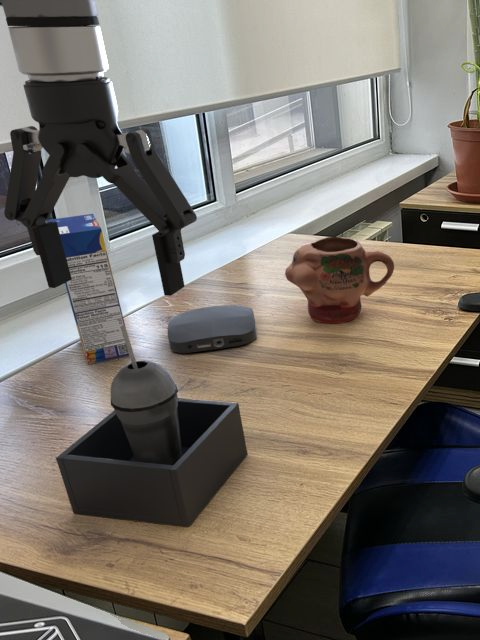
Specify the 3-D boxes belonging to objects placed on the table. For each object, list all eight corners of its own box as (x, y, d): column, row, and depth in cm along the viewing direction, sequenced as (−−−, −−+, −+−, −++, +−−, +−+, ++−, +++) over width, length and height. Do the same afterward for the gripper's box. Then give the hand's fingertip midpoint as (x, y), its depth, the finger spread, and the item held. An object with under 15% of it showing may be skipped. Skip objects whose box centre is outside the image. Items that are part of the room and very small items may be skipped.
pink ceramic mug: (391, 297, 142) (387, 229, 136) (400, 320, 132) (396, 248, 126) (290, 306, 138) (281, 238, 132) (291, 331, 128) (281, 257, 122)
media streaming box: (253, 314, 135) (251, 299, 134) (258, 345, 123) (256, 329, 121) (172, 325, 131) (169, 310, 130) (169, 358, 119) (165, 341, 117)
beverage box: (88, 365, 117) (52, 235, 107) (80, 341, 125) (47, 219, 115) (132, 354, 120) (101, 228, 110) (122, 332, 128) (92, 213, 119)
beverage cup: (153, 503, 82) (113, 348, 73) (120, 481, 86) (79, 331, 77) (207, 473, 87) (176, 325, 79) (174, 453, 91) (141, 310, 83)
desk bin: (73, 514, 82) (55, 457, 78) (146, 444, 95) (133, 394, 91) (189, 527, 79) (175, 470, 76) (247, 454, 92) (238, 402, 89)
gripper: (208, 74, 68) (240, 281, 77) (-18, 71, 72) (39, 269, 81) (165, 81, 61) (206, 307, 71) (-81, 78, 65) (-12, 292, 75)
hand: (116, 287), depth 76 cm, fingers open, 13 cm apart
